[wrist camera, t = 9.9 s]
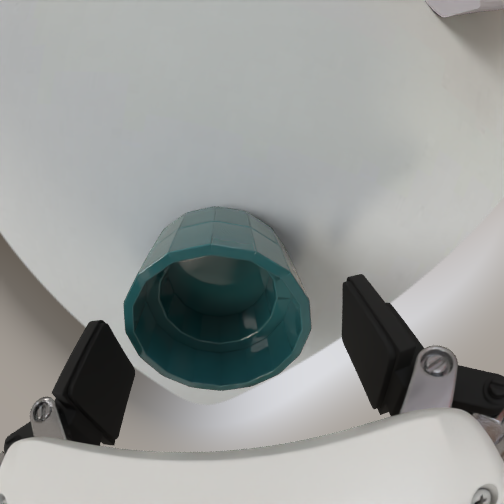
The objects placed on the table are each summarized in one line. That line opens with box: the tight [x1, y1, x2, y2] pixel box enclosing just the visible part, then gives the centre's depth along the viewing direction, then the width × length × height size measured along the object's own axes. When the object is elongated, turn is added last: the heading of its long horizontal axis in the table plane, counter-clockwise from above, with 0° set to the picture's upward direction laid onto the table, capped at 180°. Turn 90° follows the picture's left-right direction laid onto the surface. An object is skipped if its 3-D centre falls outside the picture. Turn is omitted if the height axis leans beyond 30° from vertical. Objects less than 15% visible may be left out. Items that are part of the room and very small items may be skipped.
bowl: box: [124, 207, 311, 391], centre depth 12 cm, size 7×7×5 cm
